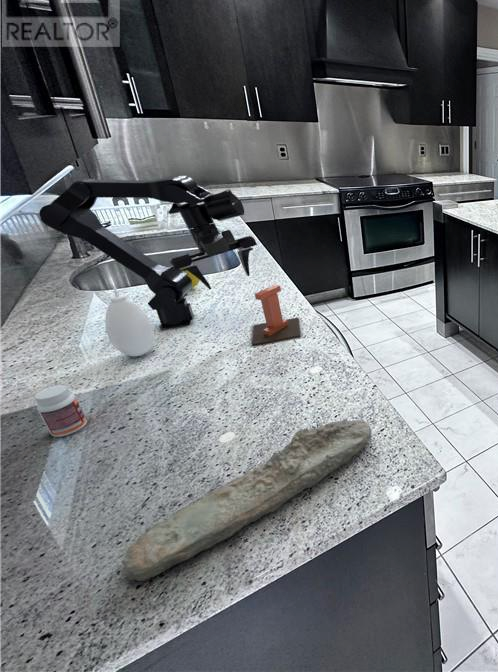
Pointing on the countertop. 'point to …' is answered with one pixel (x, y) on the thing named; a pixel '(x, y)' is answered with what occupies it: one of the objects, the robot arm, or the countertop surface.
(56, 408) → the pill bottle
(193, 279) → the lemon
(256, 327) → the dark brown square tile
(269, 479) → the long grey stone
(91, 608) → the countertop surface
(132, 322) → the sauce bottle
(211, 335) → the countertop surface
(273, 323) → the letter I
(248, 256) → the robot arm
